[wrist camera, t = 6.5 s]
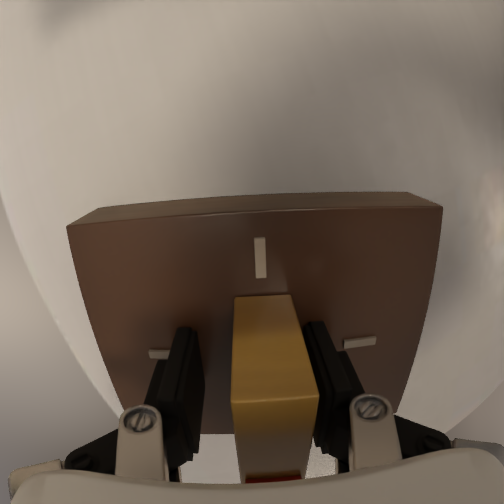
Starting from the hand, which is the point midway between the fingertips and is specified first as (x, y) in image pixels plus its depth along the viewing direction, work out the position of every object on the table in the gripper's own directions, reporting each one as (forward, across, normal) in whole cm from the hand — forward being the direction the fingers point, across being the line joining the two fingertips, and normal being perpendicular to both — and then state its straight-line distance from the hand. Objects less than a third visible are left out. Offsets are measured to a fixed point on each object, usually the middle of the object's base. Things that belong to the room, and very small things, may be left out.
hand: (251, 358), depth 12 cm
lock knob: (0, 0, 0) cm, 1 cm away
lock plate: (+3, 0, 0) cm, 3 cm away
